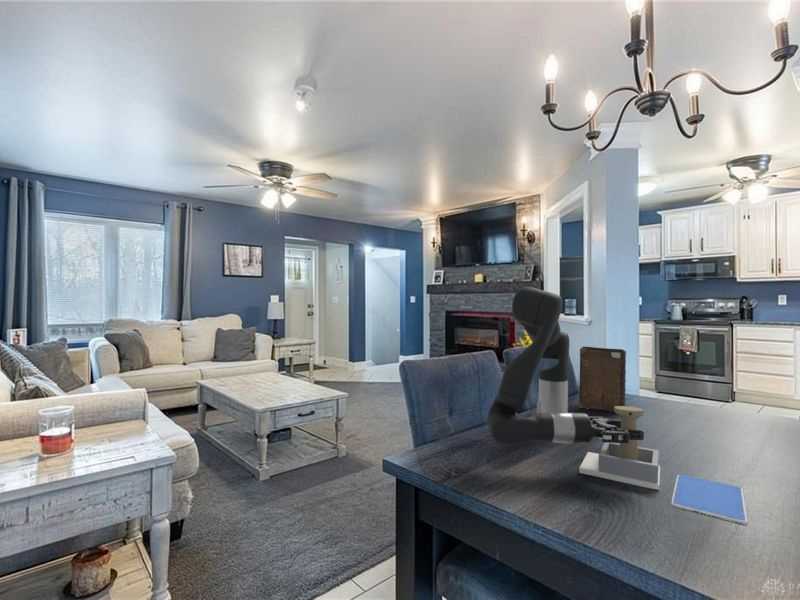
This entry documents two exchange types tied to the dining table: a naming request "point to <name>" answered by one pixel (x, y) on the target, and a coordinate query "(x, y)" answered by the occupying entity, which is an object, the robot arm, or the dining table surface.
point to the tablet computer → (710, 498)
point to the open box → (624, 466)
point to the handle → (629, 423)
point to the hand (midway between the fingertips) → (633, 429)
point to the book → (602, 378)
